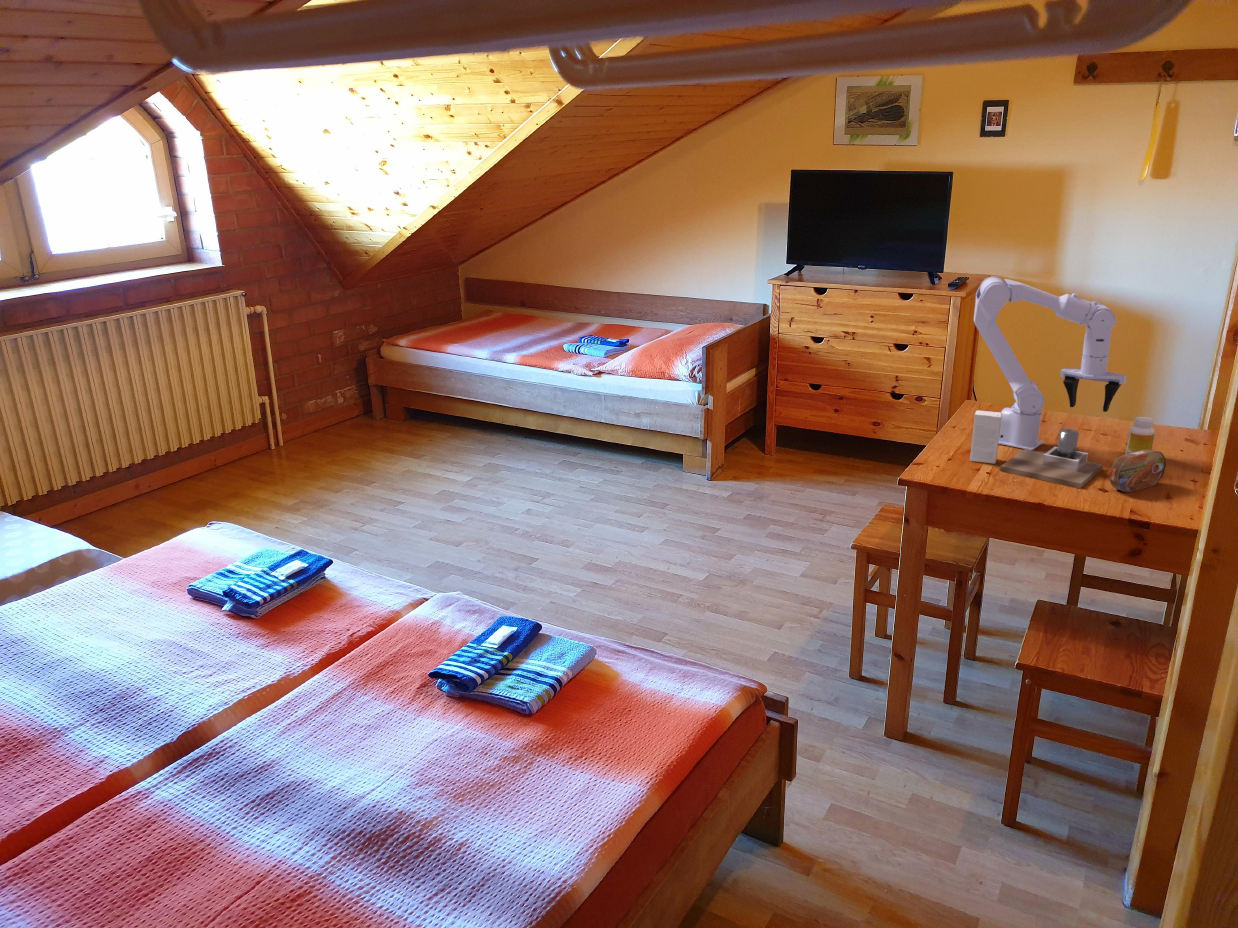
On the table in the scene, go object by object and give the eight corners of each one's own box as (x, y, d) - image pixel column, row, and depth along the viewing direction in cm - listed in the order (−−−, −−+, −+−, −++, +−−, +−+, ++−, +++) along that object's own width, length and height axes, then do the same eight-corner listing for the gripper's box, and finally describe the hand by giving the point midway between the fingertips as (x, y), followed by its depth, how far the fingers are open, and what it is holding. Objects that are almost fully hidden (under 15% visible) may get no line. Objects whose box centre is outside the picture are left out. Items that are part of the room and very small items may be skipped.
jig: (999, 470, 217) (1001, 456, 216) (1024, 453, 228) (1026, 439, 227) (1080, 488, 206) (1082, 473, 204) (1101, 469, 217) (1104, 454, 215)
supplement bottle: (1153, 460, 222) (1160, 422, 218) (1129, 459, 223) (1135, 421, 219) (1145, 453, 227) (1152, 416, 223) (1122, 452, 228) (1128, 415, 224)
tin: (1116, 495, 202) (1122, 459, 199) (1104, 490, 204) (1110, 455, 201) (1163, 484, 207) (1170, 449, 204) (1151, 480, 210) (1157, 445, 207)
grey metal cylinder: (1052, 464, 217) (1057, 432, 214) (1058, 459, 220) (1063, 428, 217) (1070, 467, 215) (1075, 435, 212) (1075, 463, 217) (1081, 431, 215)
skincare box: (996, 458, 225) (1002, 412, 221) (995, 464, 221) (1001, 417, 217) (970, 455, 227) (976, 409, 223) (968, 461, 224) (974, 414, 220)
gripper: (1058, 355, 225) (1052, 408, 230) (1123, 361, 216) (1115, 416, 220) (1068, 349, 230) (1062, 401, 234) (1131, 355, 221) (1124, 409, 225)
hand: (1088, 408), depth 228 cm, fingers open, 7 cm apart
